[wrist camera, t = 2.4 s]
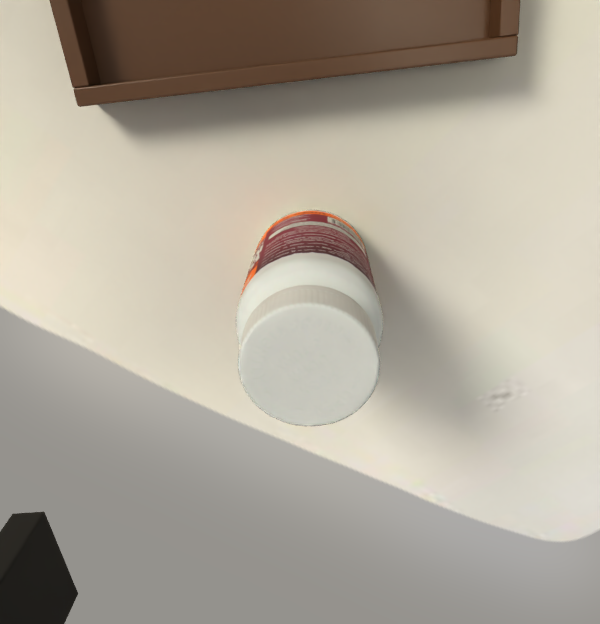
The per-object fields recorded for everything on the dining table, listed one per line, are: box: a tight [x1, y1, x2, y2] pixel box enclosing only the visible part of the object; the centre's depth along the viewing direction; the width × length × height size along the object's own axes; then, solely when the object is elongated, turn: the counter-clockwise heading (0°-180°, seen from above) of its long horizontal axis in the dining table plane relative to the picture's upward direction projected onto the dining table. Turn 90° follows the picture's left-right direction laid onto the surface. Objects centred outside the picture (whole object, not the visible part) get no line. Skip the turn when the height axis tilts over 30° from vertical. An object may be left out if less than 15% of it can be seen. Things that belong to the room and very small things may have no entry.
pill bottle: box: [236, 210, 383, 426], centre depth 24 cm, size 6×6×11 cm
